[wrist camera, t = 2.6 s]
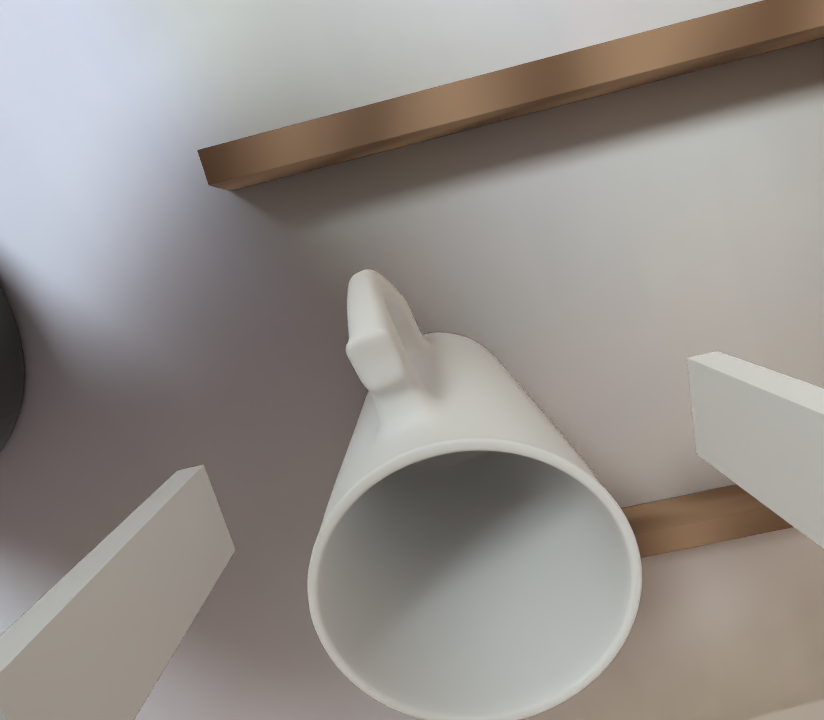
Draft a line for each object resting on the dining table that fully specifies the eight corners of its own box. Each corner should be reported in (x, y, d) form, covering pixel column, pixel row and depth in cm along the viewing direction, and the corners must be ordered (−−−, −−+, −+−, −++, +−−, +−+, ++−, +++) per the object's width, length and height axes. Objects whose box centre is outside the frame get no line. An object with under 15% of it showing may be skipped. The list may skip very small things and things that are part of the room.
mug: (535, 437, 21) (682, 668, 10) (400, 488, 22) (389, 764, 10) (453, 227, 19) (520, 206, 8) (306, 292, 20) (158, 364, 8)
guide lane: (354, 585, 23) (349, 616, 21) (219, 159, 18) (197, 150, 17) (845, 484, 22) (887, 507, 20) (840, -3, 17) (894, -35, 15)
